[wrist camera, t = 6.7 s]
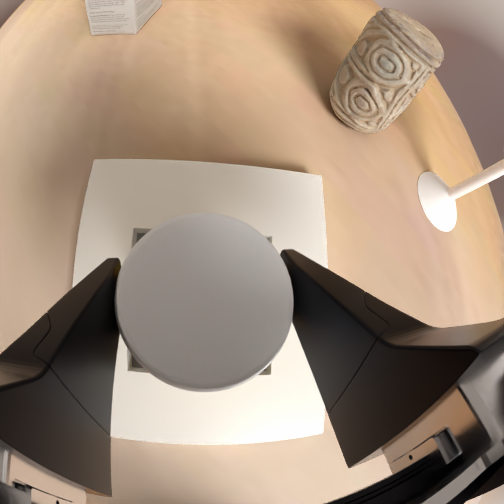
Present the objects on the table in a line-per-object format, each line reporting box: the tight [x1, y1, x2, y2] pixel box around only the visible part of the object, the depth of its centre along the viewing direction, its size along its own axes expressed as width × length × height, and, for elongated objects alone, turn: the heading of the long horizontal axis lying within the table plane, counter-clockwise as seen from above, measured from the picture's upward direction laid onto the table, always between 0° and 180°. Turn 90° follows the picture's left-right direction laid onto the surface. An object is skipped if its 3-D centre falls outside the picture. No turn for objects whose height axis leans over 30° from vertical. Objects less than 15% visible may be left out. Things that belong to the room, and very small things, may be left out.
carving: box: [329, 8, 444, 133], centre depth 18 cm, size 6×8×12 cm
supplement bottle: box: [114, 213, 293, 392], centre depth 11 cm, size 6×6×10 cm
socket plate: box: [72, 159, 328, 445], centre depth 16 cm, size 18×16×2 cm
